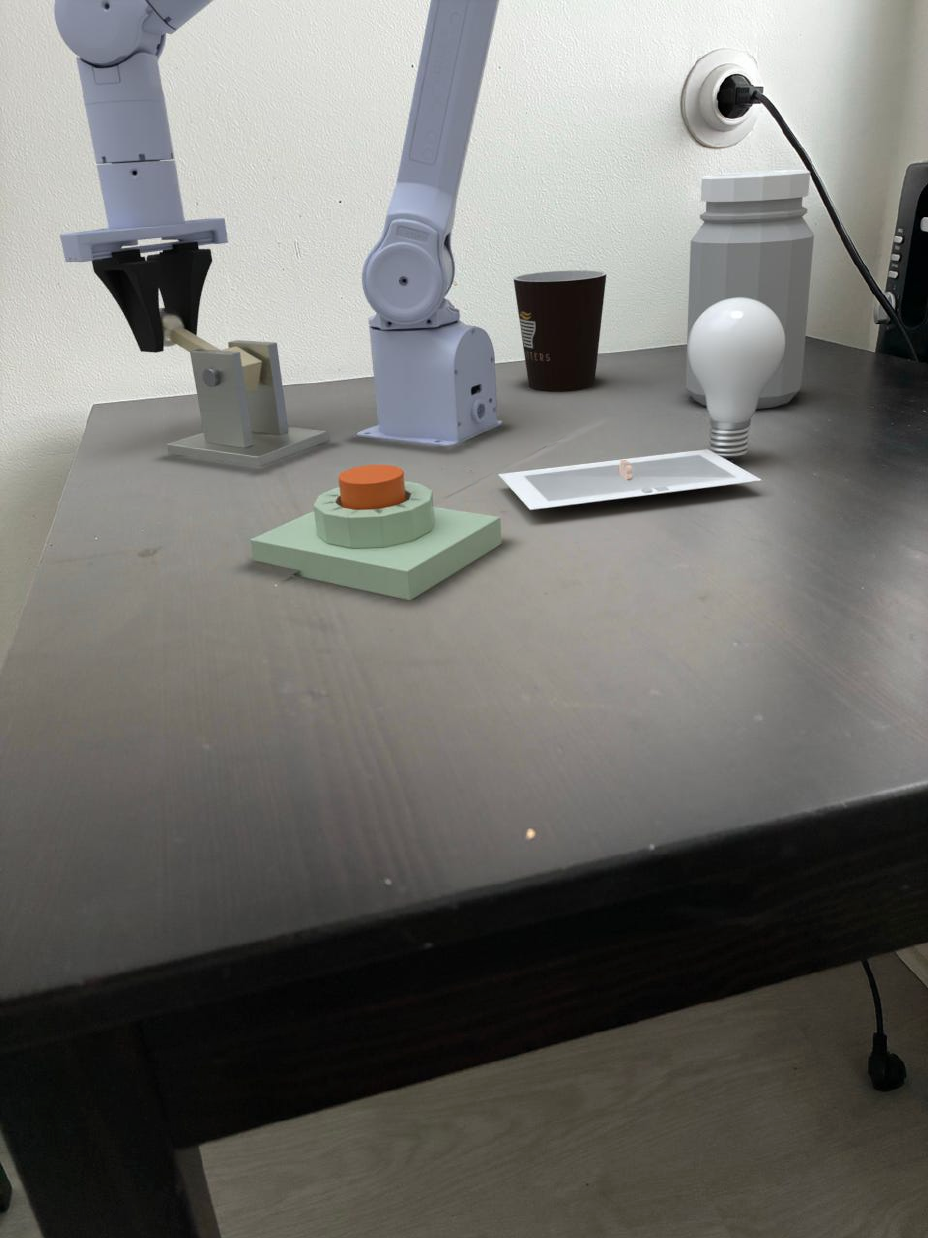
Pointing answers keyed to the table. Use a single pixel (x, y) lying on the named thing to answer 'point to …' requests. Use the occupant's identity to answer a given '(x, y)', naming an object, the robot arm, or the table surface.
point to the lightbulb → (734, 366)
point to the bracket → (242, 410)
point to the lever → (205, 346)
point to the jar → (755, 262)
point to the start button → (372, 487)
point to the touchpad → (624, 478)
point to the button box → (380, 543)
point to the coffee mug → (560, 327)
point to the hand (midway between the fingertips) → (169, 347)
